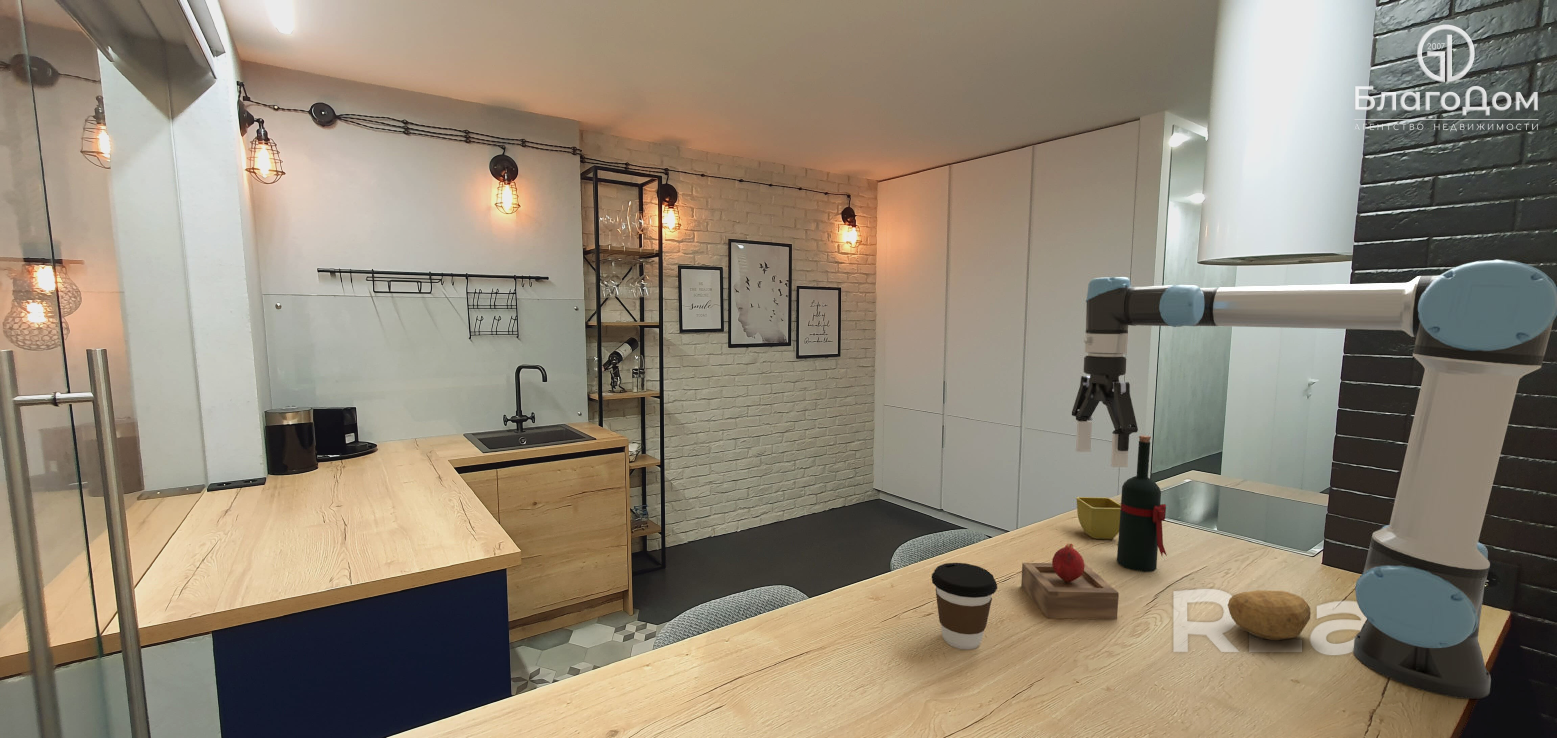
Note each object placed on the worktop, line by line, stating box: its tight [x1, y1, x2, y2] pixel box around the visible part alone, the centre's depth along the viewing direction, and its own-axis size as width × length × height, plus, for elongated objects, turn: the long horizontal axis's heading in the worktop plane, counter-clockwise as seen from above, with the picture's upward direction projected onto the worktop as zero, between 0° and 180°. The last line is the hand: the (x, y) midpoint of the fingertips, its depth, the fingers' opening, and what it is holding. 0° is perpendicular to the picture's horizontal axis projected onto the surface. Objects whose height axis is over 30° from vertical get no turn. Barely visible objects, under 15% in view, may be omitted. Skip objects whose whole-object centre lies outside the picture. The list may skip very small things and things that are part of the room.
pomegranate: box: [1051, 542, 1085, 583], centre depth 118 cm, size 6×6×8 cm
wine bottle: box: [1116, 435, 1168, 573], centre depth 135 cm, size 8×10×30 cm
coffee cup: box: [931, 562, 998, 650], centre depth 104 cm, size 11×11×12 cm
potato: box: [1227, 589, 1312, 641], centre depth 107 cm, size 10×14×8 cm
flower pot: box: [1075, 496, 1121, 540], centre depth 155 cm, size 9×9×9 cm
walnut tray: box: [1020, 562, 1120, 620], centre depth 119 cm, size 13×13×5 cm
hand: (1100, 458), depth 122 cm, fingers open, 13 cm apart
